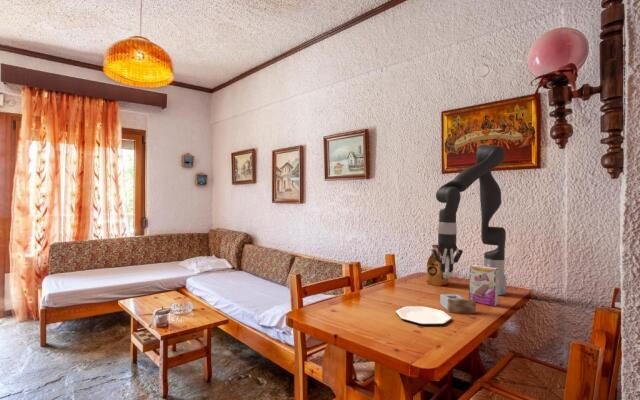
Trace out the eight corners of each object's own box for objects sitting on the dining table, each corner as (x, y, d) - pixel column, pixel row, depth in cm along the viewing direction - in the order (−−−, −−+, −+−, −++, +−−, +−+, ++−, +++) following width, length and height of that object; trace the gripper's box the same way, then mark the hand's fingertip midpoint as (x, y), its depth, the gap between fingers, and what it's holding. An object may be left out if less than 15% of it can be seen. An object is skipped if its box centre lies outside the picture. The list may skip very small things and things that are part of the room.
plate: (388, 318, 134) (388, 314, 134) (411, 306, 149) (411, 303, 149) (437, 331, 121) (437, 327, 121) (457, 317, 136) (457, 314, 136)
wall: (473, 310, 144) (473, 299, 144) (475, 312, 142) (475, 300, 142) (447, 310, 143) (447, 298, 143) (449, 312, 141) (449, 300, 141)
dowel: (448, 277, 151) (448, 254, 151) (450, 278, 149) (450, 255, 149) (442, 277, 151) (442, 254, 151) (444, 278, 149) (444, 255, 149)
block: (458, 304, 152) (458, 294, 152) (466, 310, 144) (466, 299, 144) (440, 304, 151) (440, 294, 151) (447, 310, 143) (447, 299, 143)
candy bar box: (468, 301, 157) (469, 265, 157) (472, 299, 161) (473, 264, 161) (494, 307, 150) (495, 269, 149) (498, 304, 153) (499, 268, 153)
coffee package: (423, 283, 189) (423, 243, 189) (434, 280, 198) (435, 242, 198) (439, 287, 182) (440, 245, 182) (450, 283, 191) (451, 244, 190)
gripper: (434, 233, 146) (433, 273, 146) (466, 233, 146) (466, 274, 146) (428, 231, 154) (427, 270, 154) (459, 232, 154) (458, 270, 154)
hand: (446, 271), depth 150 cm, fingers closed on dowel, 2 cm apart
